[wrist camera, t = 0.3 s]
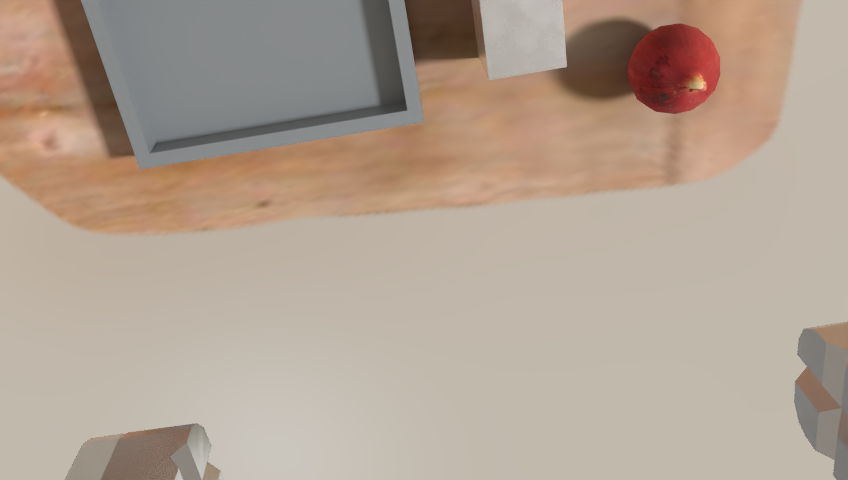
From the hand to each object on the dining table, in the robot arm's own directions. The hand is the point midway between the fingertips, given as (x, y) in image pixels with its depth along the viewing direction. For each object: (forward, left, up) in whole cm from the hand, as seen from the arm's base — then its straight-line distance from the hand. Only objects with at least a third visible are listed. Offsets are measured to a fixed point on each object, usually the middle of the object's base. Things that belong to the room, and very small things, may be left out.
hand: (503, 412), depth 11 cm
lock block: (+3, +7, -46) cm, 47 cm away
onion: (+9, +17, -46) cm, 50 cm away
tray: (+3, -10, -46) cm, 47 cm away
